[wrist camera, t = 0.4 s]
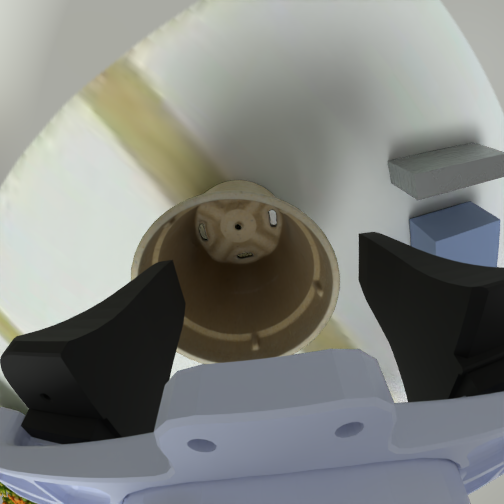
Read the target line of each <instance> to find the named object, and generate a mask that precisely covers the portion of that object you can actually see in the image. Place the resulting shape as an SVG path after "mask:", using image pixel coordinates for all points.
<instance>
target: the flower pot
mask: <svg viewBox="0 0 504 504" xmlns="http://www.w3.org/2000/svg"><path fill="white" fill-rule="evenodd" d="M270 210H274V211H275V212H276V218H277V219H276V222H277V224H276V226H275V227H272V226H271V225H270V219H269V213H268V211H270ZM200 224H203V225H204V229H205V232H206V236H207V238H208V240H203V238H202V237H201V235H200V232H199V225H200ZM236 224H239V225H240V226H241V229H240V230H238V229H236V228H235V225H236ZM244 252H245V253H252V254H253V256H250V257H245V258H239V257H237V255H240V254H244ZM168 260H173V263H174V266H175V269H176V273H177V276H178V280H179V283H180V286H181V290H182V293H183V296H184V299H185V303H186V306H185V315H184V323H183V327H182V331H181V335H180V339H179V342H178V346H177V350H176V352H177V353H179V354H181V355H183V356H185V357H187V358H189V359H191V360H194V361H197V362H199V363H202V364H214V363H225V362H236V361H246V360H255V359H264V358H272V357H280V356H288V355H294V353H296V352H298V351H300V350H301V349H303V348H304V347H305V346H307V345H308V344H309V343H310V342H311V341H312V340H314V339H315V338H316V337H317V336H318V335H319V333H320V332H321V331H322V330H323V328H324V327H325V326H326V324H327V322H328V321H329V319H330V317H331V315H332V313H333V312H334V309H335V306H336V303H337V299H338V294H339V289H340V274H339V268H338V263H337V258H336V256H335V253H334V250H333V248H332V246H331V244H330V242H329V241H328V239H327V237H326V236H325V234H324V233H323V231H322V230H321V229H320V228H319V227H318V225H317V224H316V223H315V222H314V221H313V220H312V219H311V218H309V217H308V216H307V215H306V214H305V213H303V212H302V211H301V210H299V209H298V208H296V207H294V206H293V205H291V204H289V203H287V202H285V201H283V200H280V199H278V198H276V197H275V196H274V195H273V194H272V193H271V192H270V191H268V190H267V189H266V188H264V187H262V186H260V185H258V184H256V183H253V182H249V181H243V180H233V181H227V182H223V183H220V184H218V185H216V186H214V187H212V188H211V189H209V190H208V191H207V192H206V193H205V194H201V195H198V196H195V197H193V198H190V199H188V200H185V201H183V202H181V203H179V204H177V205H176V206H174V207H172V208H171V209H169V210H168V211H166V212H165V213H164V214H163V215H162V216H160V217H159V218H158V219H157V220H156V221H155V222H154V223H153V224H152V225H151V227H150V228H149V229H148V230H147V232H146V233H145V235H144V236H143V237H142V239H141V241H140V243H139V245H138V247H137V250H136V252H135V255H134V259H133V263H132V267H131V281H132V280H133V279H134V278H136V277H137V276H138V275H140V274H141V273H142V272H144V271H145V270H146V269H148V268H149V267H150V266H152V265H153V264H155V263H157V262H161V261H168Z"/></svg>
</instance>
